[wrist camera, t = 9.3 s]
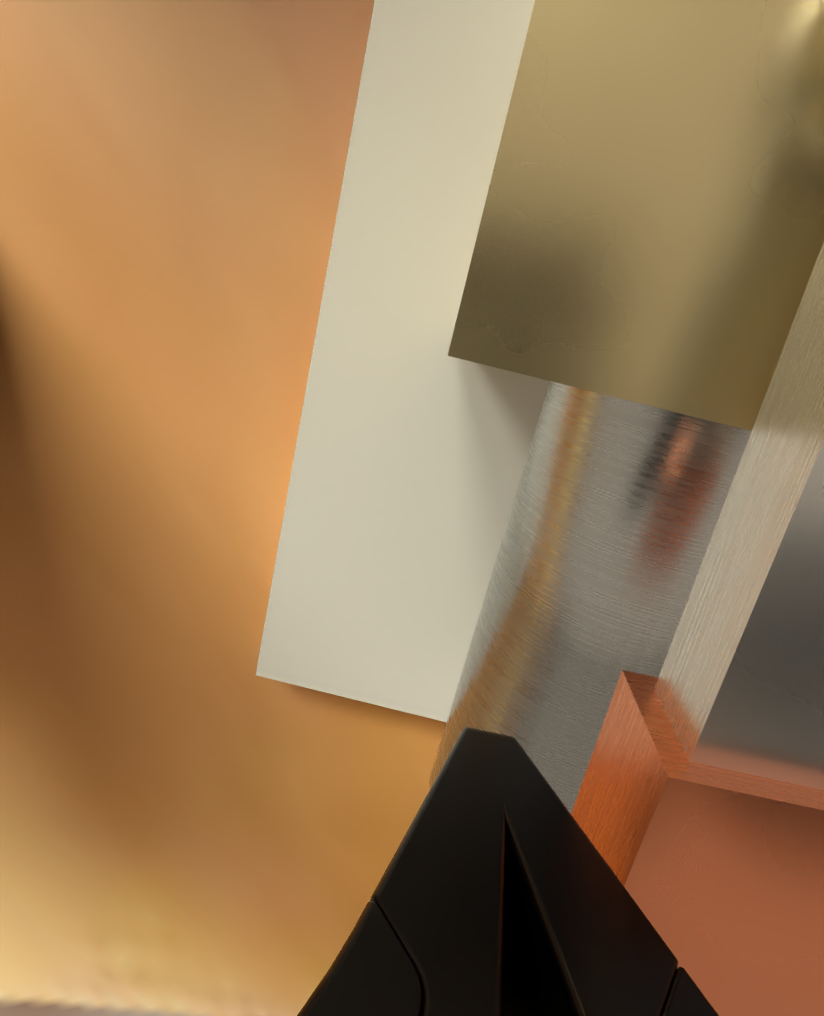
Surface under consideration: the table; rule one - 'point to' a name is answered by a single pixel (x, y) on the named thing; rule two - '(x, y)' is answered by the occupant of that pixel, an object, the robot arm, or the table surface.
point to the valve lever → (736, 725)
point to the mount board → (404, 380)
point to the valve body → (631, 332)
